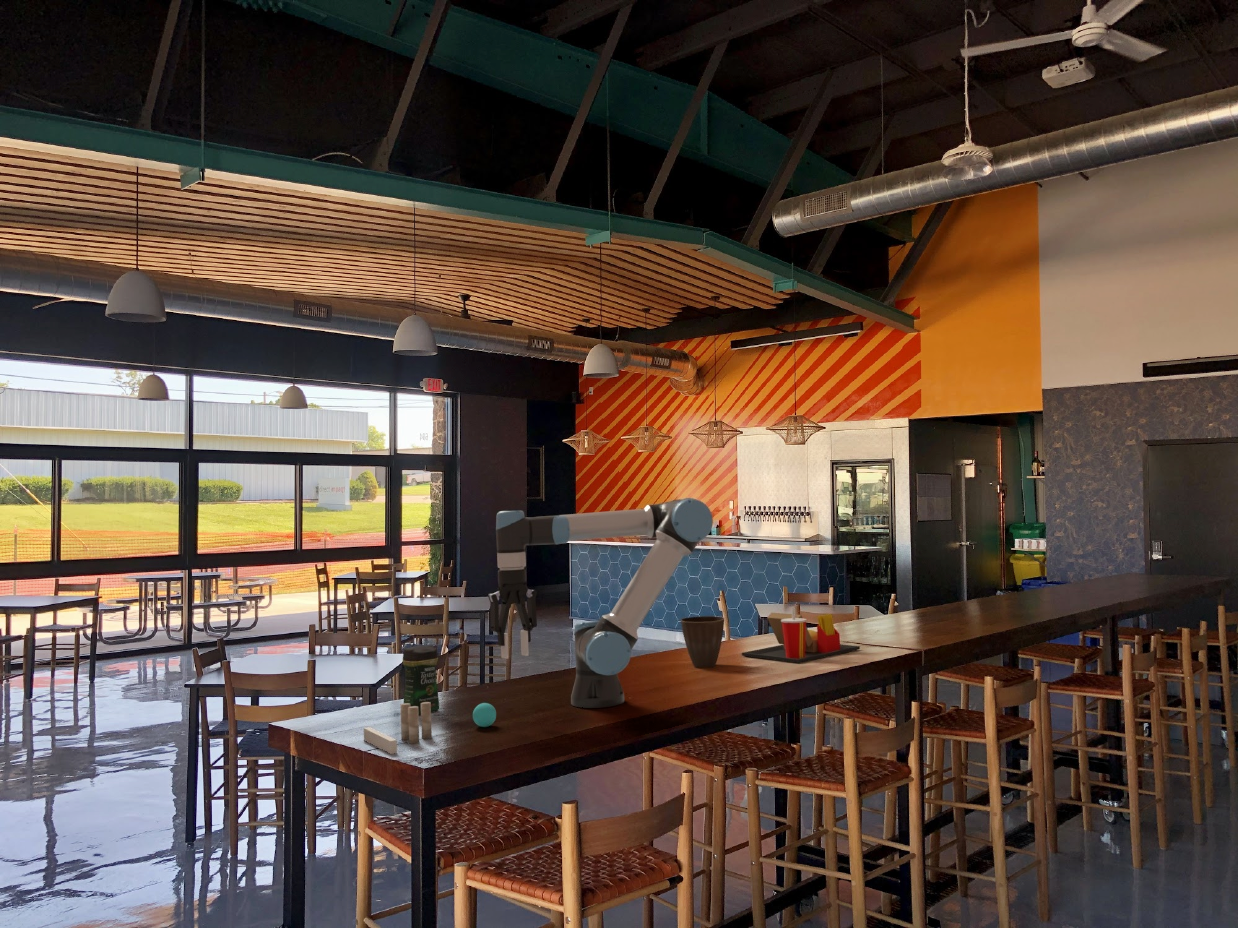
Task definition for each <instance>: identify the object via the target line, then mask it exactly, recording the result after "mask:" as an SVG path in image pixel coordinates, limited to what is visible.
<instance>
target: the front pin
mask: <svg viewBox="0 0 1238 928" xmlns="http://www.w3.org/2000/svg"><path fill="white" fill-rule="evenodd" d="M420 723H421V739H422V740H429V739H432V737H433V736H432V733H433V732H432V713H431V703H430V702H423V703H421V715H420Z"/></svg>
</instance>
